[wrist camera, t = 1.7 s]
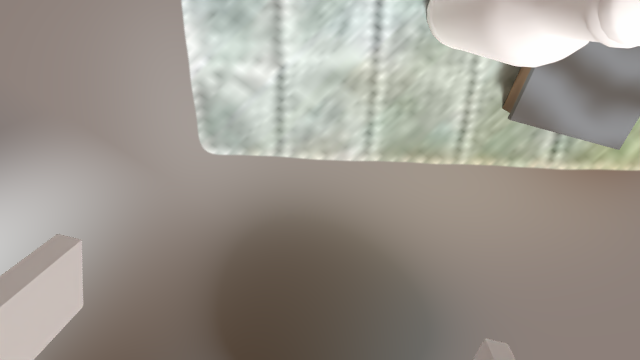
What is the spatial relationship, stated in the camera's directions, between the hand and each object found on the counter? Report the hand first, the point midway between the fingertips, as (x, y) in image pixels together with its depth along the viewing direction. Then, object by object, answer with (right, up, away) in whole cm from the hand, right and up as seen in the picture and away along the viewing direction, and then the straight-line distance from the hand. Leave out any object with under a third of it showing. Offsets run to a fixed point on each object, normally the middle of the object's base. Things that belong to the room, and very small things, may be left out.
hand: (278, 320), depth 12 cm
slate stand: (+31, +17, +32) cm, 48 cm away
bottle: (+17, +24, +31) cm, 42 cm away
